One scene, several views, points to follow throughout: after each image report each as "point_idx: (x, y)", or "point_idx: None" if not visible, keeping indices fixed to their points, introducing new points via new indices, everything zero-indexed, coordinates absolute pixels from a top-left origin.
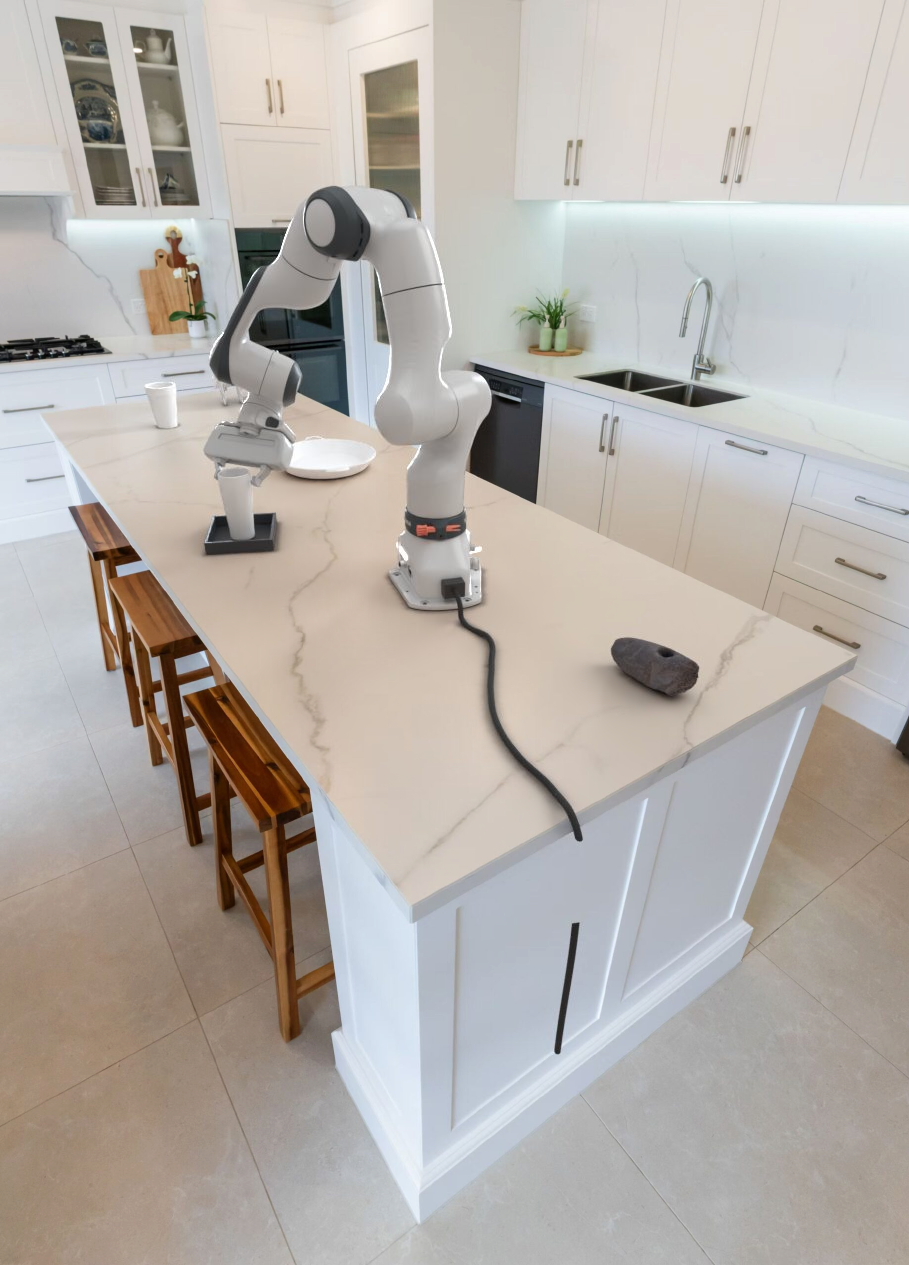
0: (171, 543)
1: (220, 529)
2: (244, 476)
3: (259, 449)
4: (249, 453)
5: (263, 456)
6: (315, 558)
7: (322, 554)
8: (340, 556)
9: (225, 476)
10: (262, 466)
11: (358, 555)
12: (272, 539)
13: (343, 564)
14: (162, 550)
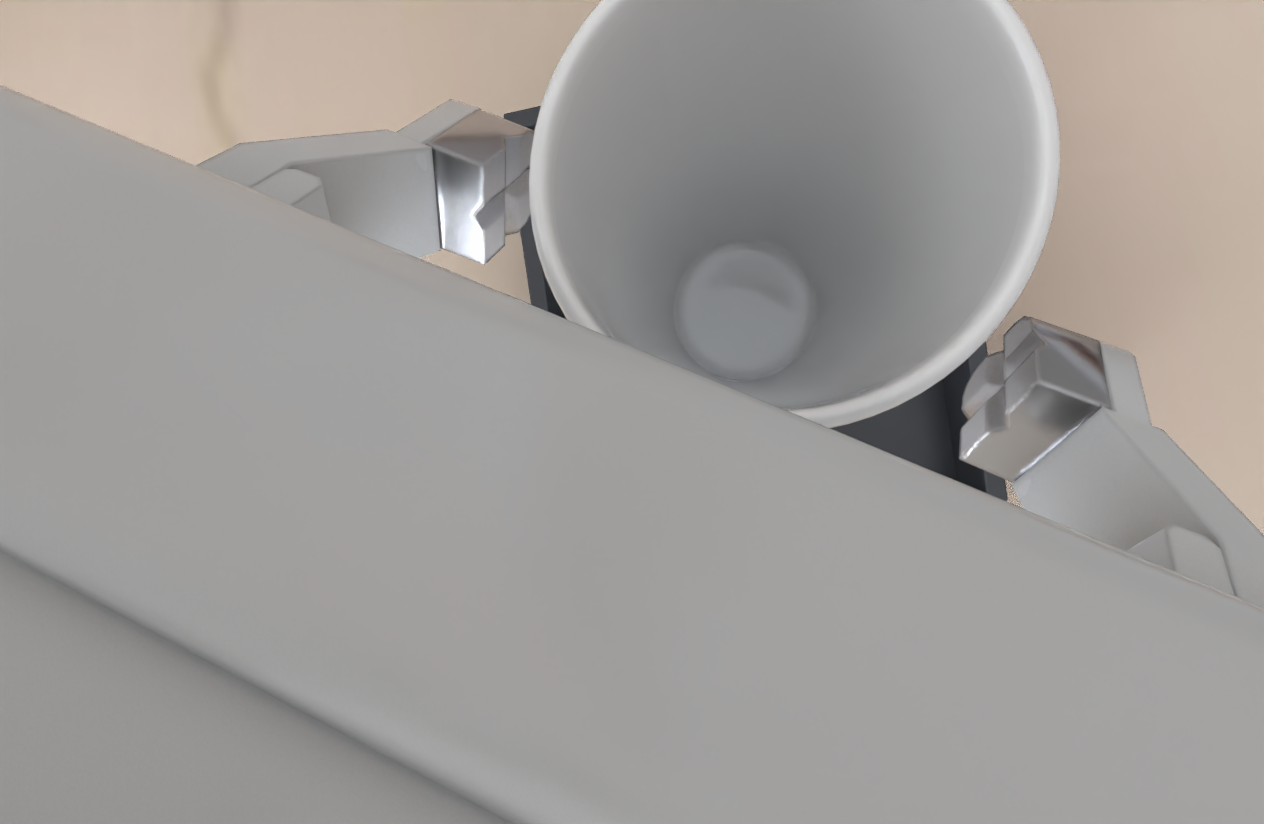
0: (1205, 225)
1: (920, 444)
2: (570, 43)
3: (53, 374)
4: (403, 376)
5: (71, 204)
6: (303, 67)
7: (277, 120)
8: (191, 101)
9: (937, 329)
10: (256, 185)
11: (113, 120)
12: (504, 114)
13: (166, 7)
14: (1235, 110)
